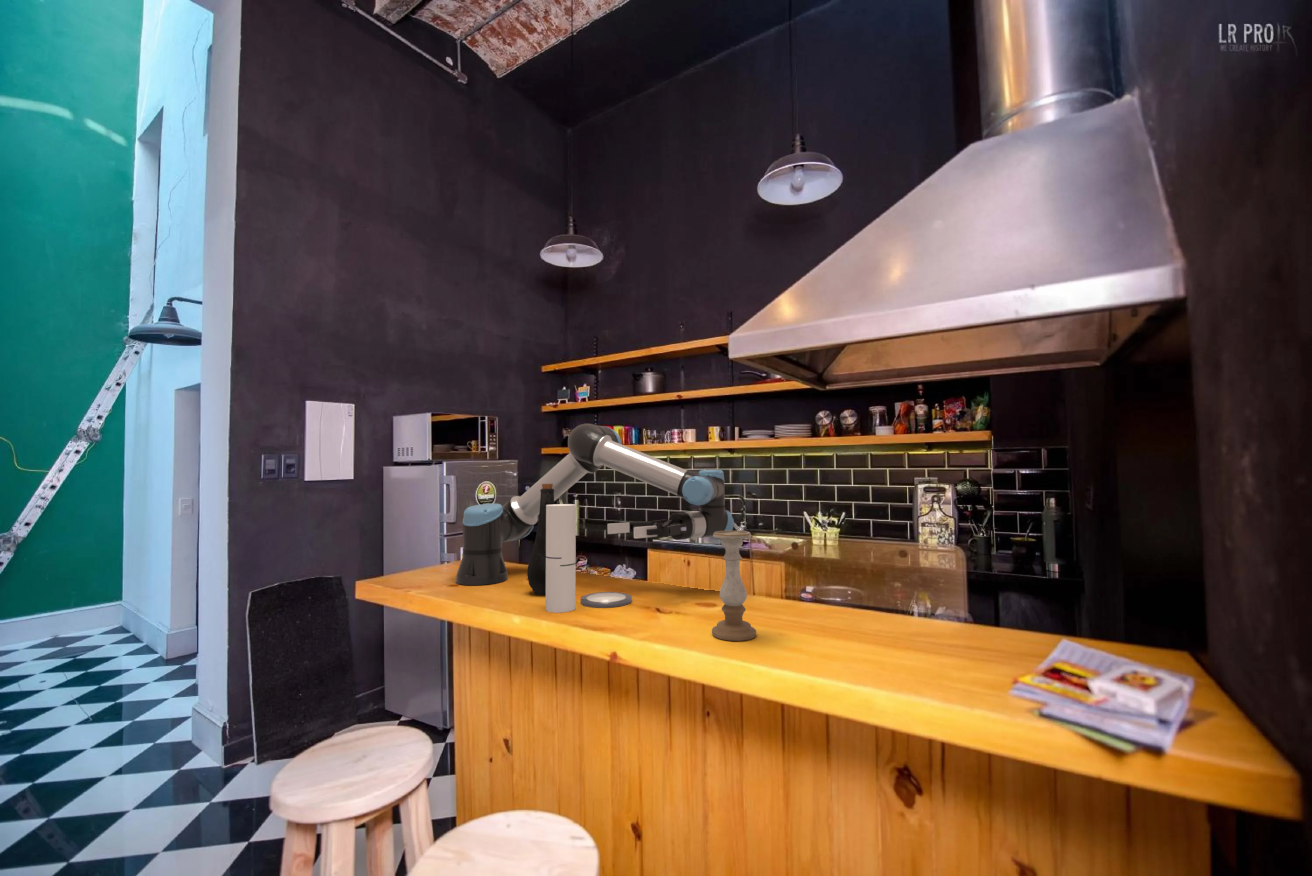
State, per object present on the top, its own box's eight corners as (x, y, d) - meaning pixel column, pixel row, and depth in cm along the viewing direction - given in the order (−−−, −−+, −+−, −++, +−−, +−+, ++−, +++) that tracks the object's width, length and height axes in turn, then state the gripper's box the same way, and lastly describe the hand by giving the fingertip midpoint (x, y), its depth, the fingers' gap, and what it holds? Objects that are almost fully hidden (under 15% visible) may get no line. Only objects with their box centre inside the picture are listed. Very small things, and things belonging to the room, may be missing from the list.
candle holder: (740, 644, 99) (737, 535, 100) (703, 635, 105) (701, 532, 106) (764, 634, 105) (762, 531, 107) (728, 626, 111) (726, 529, 113)
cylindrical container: (549, 605, 131) (549, 504, 133) (577, 605, 131) (578, 504, 132) (542, 612, 124) (542, 505, 125) (572, 612, 123) (572, 505, 125)
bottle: (570, 588, 150) (570, 483, 152) (560, 597, 139) (560, 484, 142) (534, 588, 151) (535, 483, 153) (521, 596, 140) (522, 484, 143)
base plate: (572, 600, 136) (572, 595, 136) (616, 593, 143) (616, 589, 143) (595, 610, 125) (595, 605, 125) (641, 602, 132) (641, 598, 132)
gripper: (715, 543, 137) (647, 550, 126) (661, 535, 158) (598, 541, 146) (714, 514, 138) (646, 519, 126) (660, 510, 159) (598, 513, 147)
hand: (620, 530), depth 136 cm, fingers open, 13 cm apart
